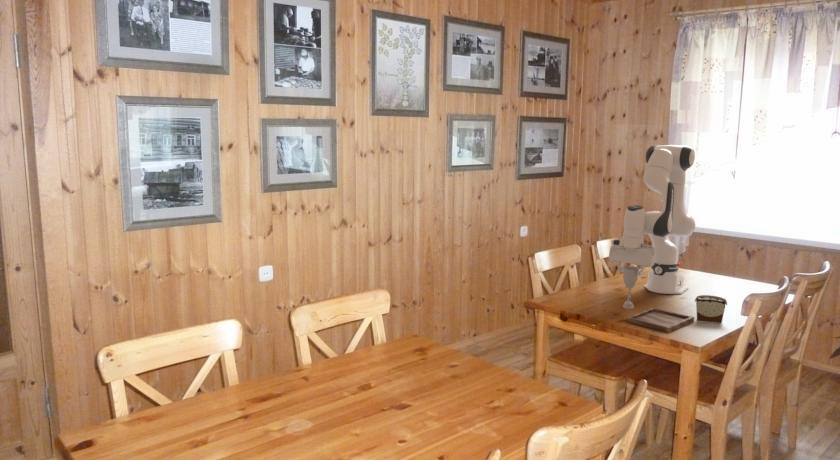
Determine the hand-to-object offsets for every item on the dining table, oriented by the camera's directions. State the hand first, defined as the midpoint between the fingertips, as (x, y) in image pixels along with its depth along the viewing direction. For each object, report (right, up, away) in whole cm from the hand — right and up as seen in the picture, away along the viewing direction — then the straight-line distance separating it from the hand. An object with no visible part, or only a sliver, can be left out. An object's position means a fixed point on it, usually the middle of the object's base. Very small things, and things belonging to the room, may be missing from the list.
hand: (630, 273), depth 276 cm
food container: (+28, -19, -15) cm, 37 cm away
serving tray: (+6, -19, -18) cm, 27 cm away
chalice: (0, -15, +3) cm, 16 cm away
